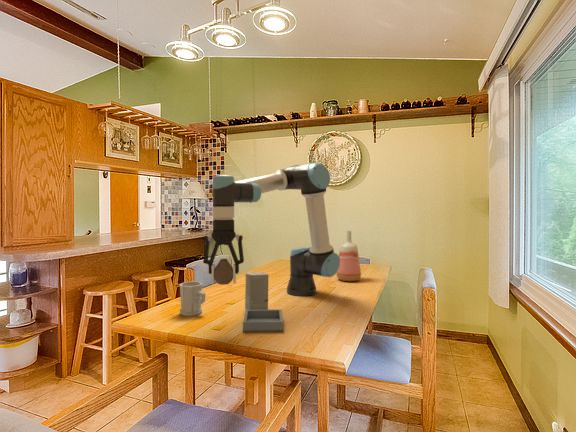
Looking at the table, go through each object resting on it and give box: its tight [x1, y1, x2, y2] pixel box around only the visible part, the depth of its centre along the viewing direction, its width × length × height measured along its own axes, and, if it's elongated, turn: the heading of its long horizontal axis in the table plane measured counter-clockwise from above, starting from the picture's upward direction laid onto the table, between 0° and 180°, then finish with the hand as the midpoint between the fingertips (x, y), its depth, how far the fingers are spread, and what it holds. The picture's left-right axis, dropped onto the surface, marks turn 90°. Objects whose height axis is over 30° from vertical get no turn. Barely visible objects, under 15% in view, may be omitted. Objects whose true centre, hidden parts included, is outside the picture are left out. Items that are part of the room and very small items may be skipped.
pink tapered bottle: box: [335, 230, 362, 283], centre depth 199 cm, size 14×14×30 cm
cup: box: [179, 281, 206, 317], centre depth 136 cm, size 10×9×12 cm
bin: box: [242, 308, 284, 333], centre depth 123 cm, size 14×14×4 cm
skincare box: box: [244, 272, 269, 311], centre depth 140 cm, size 8×7×16 cm
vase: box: [214, 258, 233, 286], centre depth 119 cm, size 7×7×9 cm
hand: (224, 282), depth 119 cm, fingers closed on vase, 7 cm apart
